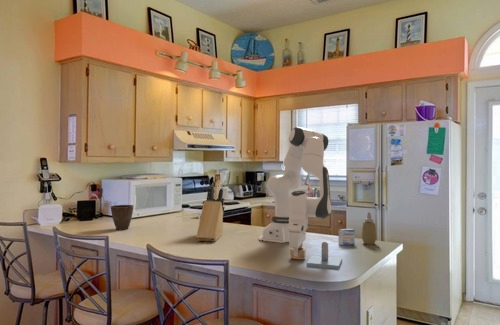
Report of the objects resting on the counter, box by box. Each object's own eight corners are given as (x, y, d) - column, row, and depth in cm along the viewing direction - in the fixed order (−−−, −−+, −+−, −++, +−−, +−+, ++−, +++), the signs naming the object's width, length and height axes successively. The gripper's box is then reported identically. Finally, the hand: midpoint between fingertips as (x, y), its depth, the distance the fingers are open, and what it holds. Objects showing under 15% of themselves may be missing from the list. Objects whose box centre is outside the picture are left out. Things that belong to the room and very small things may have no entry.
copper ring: (289, 258, 177) (289, 249, 177) (292, 254, 183) (292, 246, 183) (303, 259, 175) (303, 251, 175) (306, 256, 181) (306, 248, 181)
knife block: (225, 231, 248) (225, 185, 248) (215, 243, 213) (215, 189, 213) (209, 231, 249) (209, 185, 249) (195, 242, 214) (195, 188, 214)
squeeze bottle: (373, 242, 216) (373, 211, 216) (378, 245, 208) (378, 213, 208) (359, 242, 216) (359, 211, 216) (364, 245, 208) (364, 213, 208)
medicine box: (342, 245, 207) (342, 230, 207) (338, 244, 211) (338, 228, 211) (354, 245, 209) (354, 229, 209) (350, 243, 214) (350, 228, 213)
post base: (306, 266, 167) (306, 243, 166) (312, 258, 180) (312, 237, 180) (338, 269, 162) (338, 246, 162) (341, 261, 175) (342, 239, 175)
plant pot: (105, 230, 250) (105, 206, 250) (119, 226, 264) (119, 204, 264) (124, 231, 246) (124, 207, 246) (137, 228, 260) (137, 205, 260)
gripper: (296, 221, 190) (296, 248, 190) (286, 228, 170) (286, 258, 171) (308, 222, 188) (308, 249, 188) (300, 229, 168) (300, 259, 168)
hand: (297, 253), depth 179 cm, fingers closed on copper ring, 7 cm apart
